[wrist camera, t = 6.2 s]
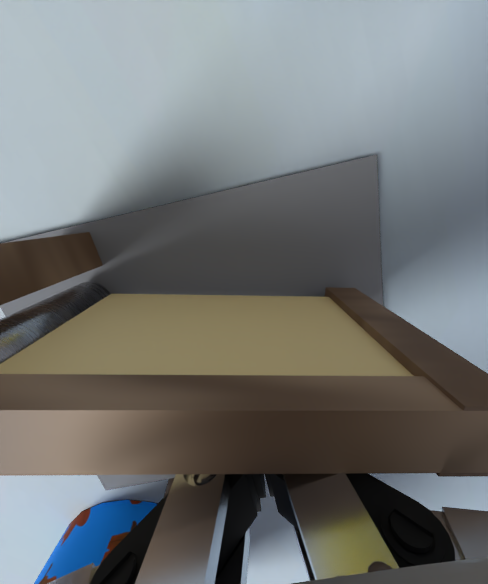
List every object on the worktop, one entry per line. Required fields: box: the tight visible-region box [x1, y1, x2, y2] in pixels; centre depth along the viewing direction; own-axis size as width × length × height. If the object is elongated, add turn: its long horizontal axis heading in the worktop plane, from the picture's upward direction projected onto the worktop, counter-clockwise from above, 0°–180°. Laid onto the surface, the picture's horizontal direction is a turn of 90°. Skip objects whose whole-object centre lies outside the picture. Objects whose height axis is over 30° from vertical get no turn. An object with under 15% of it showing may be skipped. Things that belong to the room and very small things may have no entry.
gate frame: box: [0, 155, 383, 497], centre depth 10 cm, size 18×19×8 cm
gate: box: [0, 282, 488, 476], centre depth 8 cm, size 14×2×8 cm, turn 89°
